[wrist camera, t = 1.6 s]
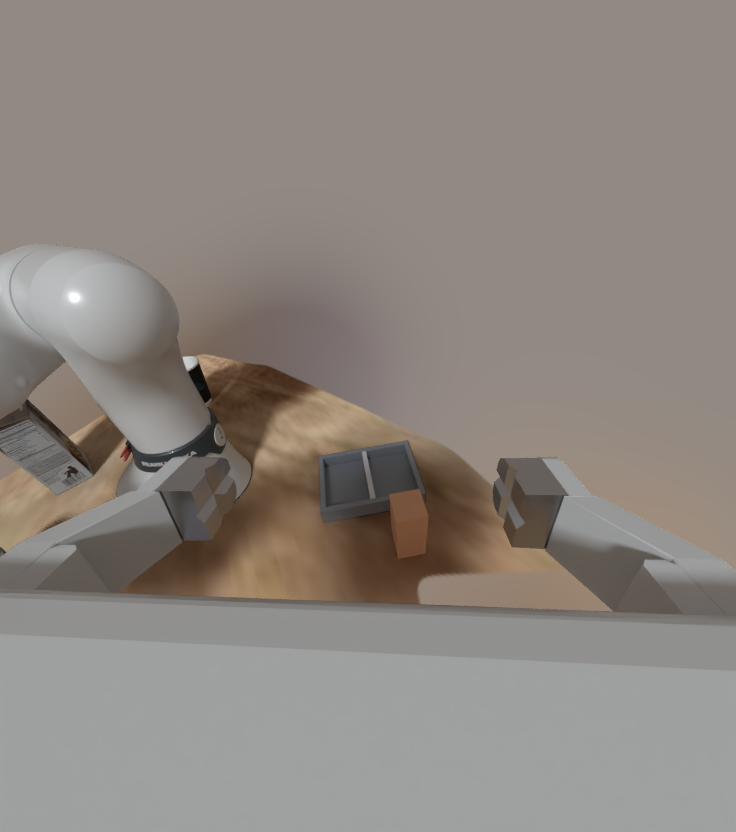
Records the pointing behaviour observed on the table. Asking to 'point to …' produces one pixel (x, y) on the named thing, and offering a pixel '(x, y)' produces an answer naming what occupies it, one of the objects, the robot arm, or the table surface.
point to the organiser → (365, 480)
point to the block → (409, 523)
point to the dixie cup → (197, 378)
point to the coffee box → (43, 449)
